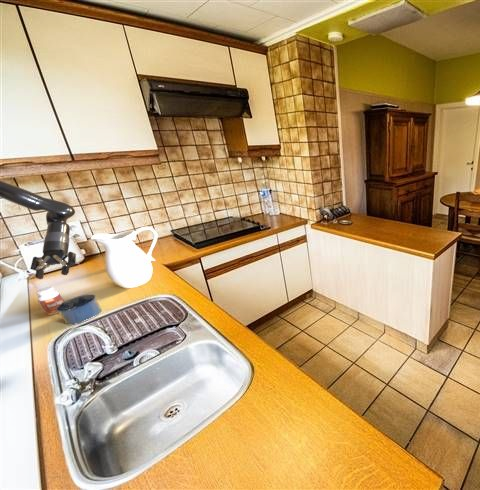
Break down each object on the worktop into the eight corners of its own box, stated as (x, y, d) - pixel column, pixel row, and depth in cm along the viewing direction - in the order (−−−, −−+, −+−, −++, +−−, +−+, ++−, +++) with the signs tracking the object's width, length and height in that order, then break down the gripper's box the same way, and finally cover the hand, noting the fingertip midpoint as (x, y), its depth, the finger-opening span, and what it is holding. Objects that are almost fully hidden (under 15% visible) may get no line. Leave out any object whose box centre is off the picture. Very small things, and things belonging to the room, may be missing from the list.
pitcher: (115, 296, 126) (87, 242, 114) (115, 282, 137) (90, 232, 126) (174, 277, 140) (155, 228, 128) (170, 266, 151) (151, 220, 140)
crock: (62, 329, 105) (53, 315, 102) (67, 315, 113) (59, 302, 110) (101, 316, 111) (93, 302, 109) (104, 304, 120) (96, 291, 117)
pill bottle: (52, 316, 113) (38, 294, 109) (44, 314, 115) (29, 292, 110) (71, 307, 118) (58, 286, 114) (62, 305, 120) (49, 284, 116)
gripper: (28, 243, 117) (22, 277, 112) (69, 237, 121) (65, 270, 116) (44, 249, 124) (39, 282, 118) (82, 244, 128) (78, 275, 122)
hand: (52, 276), depth 117 cm, fingers open, 8 cm apart
